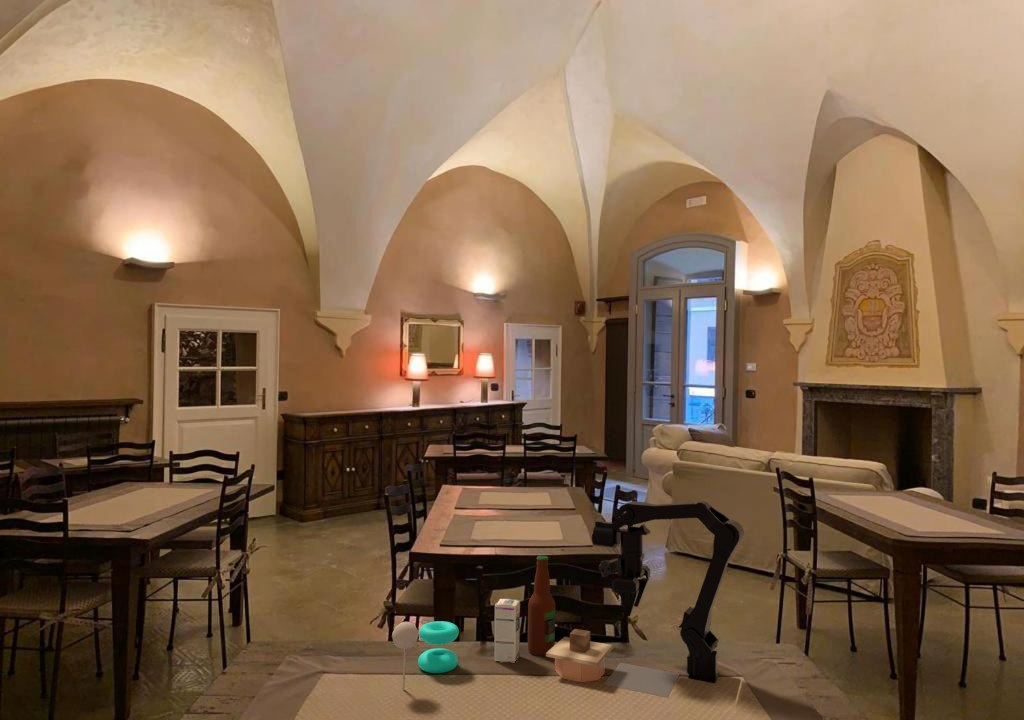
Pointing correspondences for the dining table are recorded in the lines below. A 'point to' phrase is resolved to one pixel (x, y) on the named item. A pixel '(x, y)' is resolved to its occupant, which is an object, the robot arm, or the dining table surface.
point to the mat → (642, 679)
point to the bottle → (541, 612)
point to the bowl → (579, 670)
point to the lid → (580, 649)
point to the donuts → (438, 657)
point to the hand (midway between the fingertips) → (632, 611)
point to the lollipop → (405, 639)
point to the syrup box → (507, 630)
